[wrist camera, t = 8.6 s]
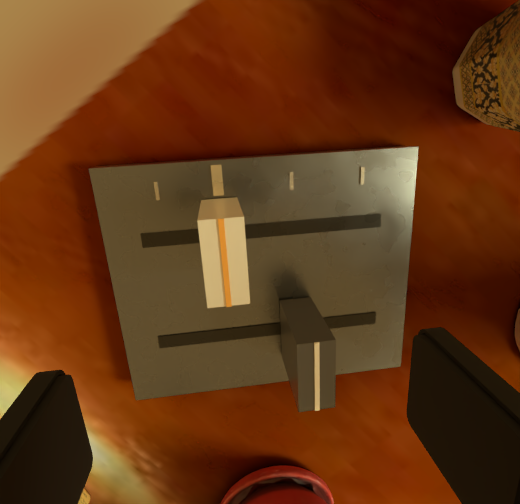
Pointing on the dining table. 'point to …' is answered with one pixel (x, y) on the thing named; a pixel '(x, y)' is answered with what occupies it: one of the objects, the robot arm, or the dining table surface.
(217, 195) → the console board
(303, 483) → the plant pot
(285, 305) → the fader cap
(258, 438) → the dining table surface
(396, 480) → the dining table surface
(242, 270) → the fader cap
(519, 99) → the ceramic cup
